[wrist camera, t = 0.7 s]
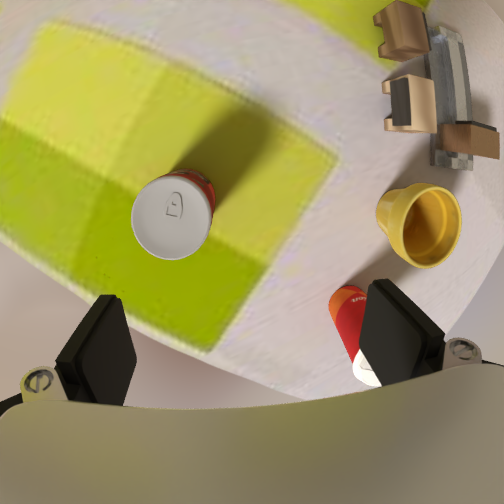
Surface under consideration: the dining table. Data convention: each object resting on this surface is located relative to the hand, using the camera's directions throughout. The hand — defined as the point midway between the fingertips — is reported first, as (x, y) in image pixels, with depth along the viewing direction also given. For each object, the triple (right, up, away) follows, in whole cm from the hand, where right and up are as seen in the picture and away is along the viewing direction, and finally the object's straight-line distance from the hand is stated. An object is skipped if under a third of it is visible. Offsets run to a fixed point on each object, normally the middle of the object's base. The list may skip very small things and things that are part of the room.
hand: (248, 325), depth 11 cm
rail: (+31, +27, +23) cm, 47 cm away
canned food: (-8, +9, +26) cm, 29 cm away
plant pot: (+21, +9, +29) cm, 37 cm away
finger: (+20, +33, +20) cm, 43 cm away
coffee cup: (+15, -5, +33) cm, 37 cm away
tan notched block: (+20, +23, +24) cm, 38 cm away
